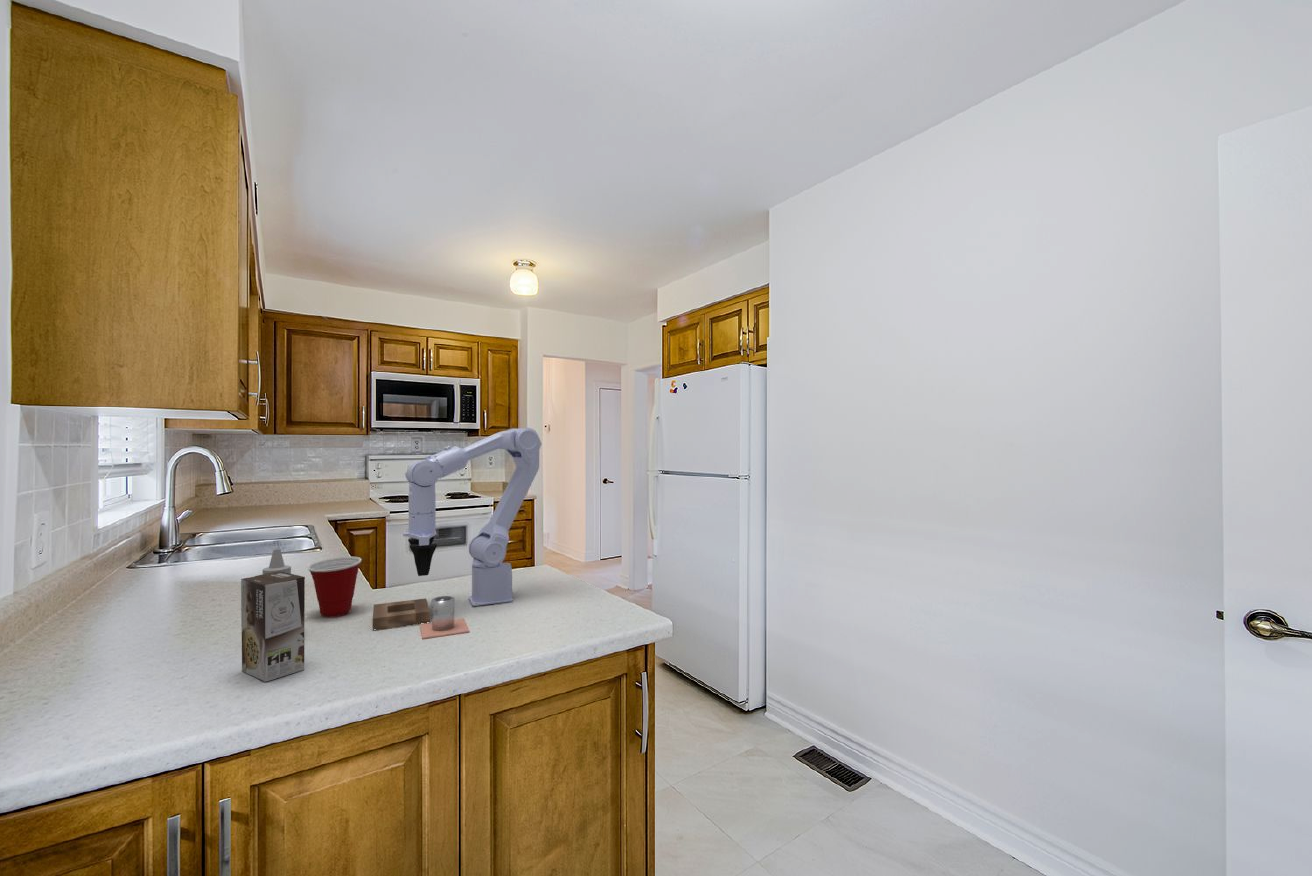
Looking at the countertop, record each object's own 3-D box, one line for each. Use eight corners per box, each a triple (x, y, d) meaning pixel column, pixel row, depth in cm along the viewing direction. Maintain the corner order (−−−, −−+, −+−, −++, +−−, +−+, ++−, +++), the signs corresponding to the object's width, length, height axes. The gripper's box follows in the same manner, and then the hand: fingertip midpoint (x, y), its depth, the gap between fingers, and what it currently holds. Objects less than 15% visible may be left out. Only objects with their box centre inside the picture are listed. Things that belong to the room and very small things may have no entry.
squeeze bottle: (276, 649, 105) (276, 554, 105) (240, 646, 106) (241, 552, 107) (310, 634, 113) (310, 546, 113) (277, 631, 114) (277, 545, 114)
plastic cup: (295, 619, 123) (295, 565, 123) (336, 605, 133) (336, 555, 133) (333, 623, 119) (333, 568, 119) (372, 609, 130) (372, 558, 130)
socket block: (426, 609, 130) (426, 598, 130) (429, 622, 120) (429, 611, 120) (373, 615, 125) (373, 604, 125) (372, 630, 115) (372, 618, 115)
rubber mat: (464, 619, 122) (464, 618, 122) (469, 632, 114) (469, 630, 114) (419, 625, 118) (419, 624, 118) (422, 639, 110) (422, 637, 110)
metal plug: (454, 623, 119) (454, 594, 119) (453, 630, 114) (454, 600, 114) (432, 625, 117) (432, 596, 117) (431, 632, 113) (431, 602, 113)
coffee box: (306, 669, 96) (306, 576, 96) (264, 683, 90) (264, 584, 90) (281, 658, 100) (281, 569, 100) (239, 671, 95) (239, 577, 95)
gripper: (402, 510, 132) (402, 567, 132) (404, 517, 119) (404, 580, 119) (434, 508, 135) (434, 564, 135) (439, 515, 122) (439, 577, 122)
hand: (422, 571), depth 127 cm, fingers open, 7 cm apart
